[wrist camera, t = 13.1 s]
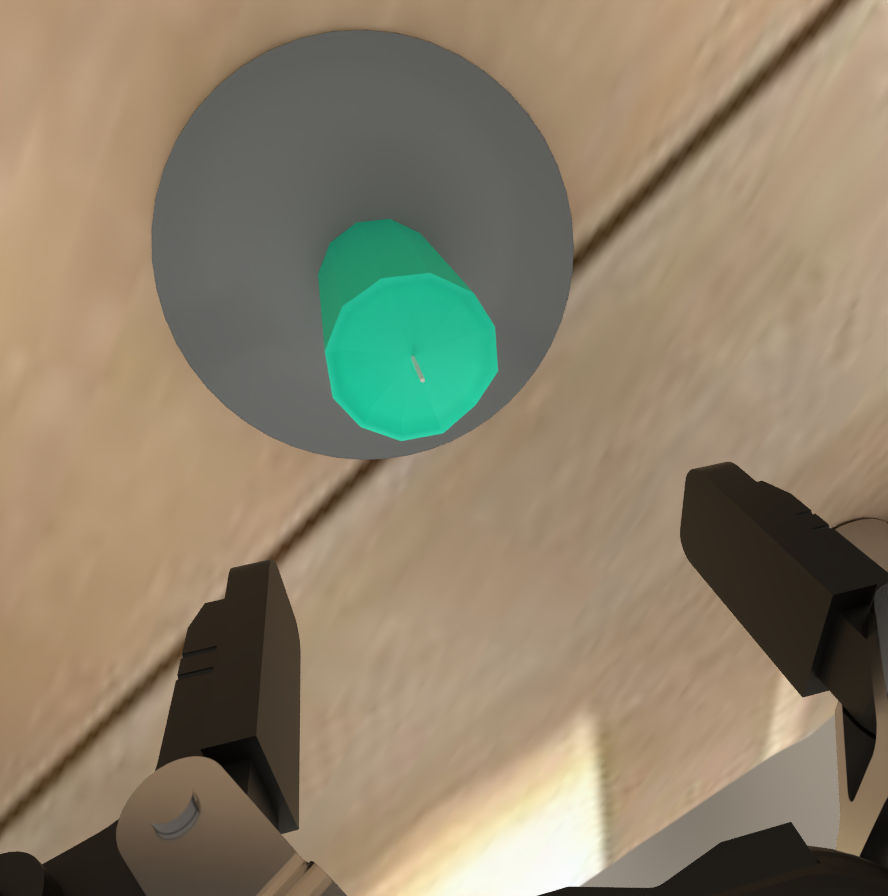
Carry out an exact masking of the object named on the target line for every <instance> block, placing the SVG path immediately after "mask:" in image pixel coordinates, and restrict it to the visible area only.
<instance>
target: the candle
mask: <svg viewBox="0 0 888 896" xmlns="http://www.w3.org/2000/svg"><path fill="white" fill-rule="evenodd" d="M318 281H319V293H320V304H321V315H322V327H323V338H324V349H325V356H326V362H327V368H328V374H329V379H330V385H331V391H332V397H333V399H334V400H335V401H336V402H337V403H338V404H339V405H340V406H341V407H342V408H343V409H344V410H345V411H346V412H347V413H348V414H349V415H350V416H351V417H352V418H353V420H354V421H355V422H356V423H357V424H358V425H359V426H360V427H362V428H365V429H367V430H370V431H373V432H376V433H379V434H382V435H385V436H388V437H391V438H393V439H396V440H399V441H405V440H410V439H416V438H421V437H427V436H432V435H438V434H443V433H444V432H445V431H447V430H448V429H449V428H450V427H451V426H452V425H453V424H455V423H456V422H457V421H458V420H459V419H460V418H461V417H463V416H464V415H465V414H466V413H467V412H468V411H469V410H471V409H472V408H473V407H474V406H475V405H476V404H477V402H478V401H479V399H480V398H481V396H482V395H483V393H484V392H485V390H486V389H487V387H488V386H489V384H490V383H491V381H492V380H493V378H494V377H495V375H496V374H497V372H498V362H497V348H496V333H495V326H494V324H493V322H492V321H491V319H490V318H489V316H488V315H487V313H486V311H485V310H484V308H483V307H482V305H481V304H480V302H479V301H478V299H477V297H476V296H475V294H474V293H473V292H472V290H471V289H470V288H469V287H468V286H467V285H466V284H465V283H464V282H463V280H462V279H461V278H460V277H459V276H458V275H457V274H456V273H455V271H454V270H453V269H452V268H451V267H450V266H449V265H448V264H447V263H446V261H445V260H444V259H443V258H442V257H441V256H440V255H439V254H438V253H437V251H436V250H435V249H434V248H433V247H432V246H431V245H430V244H429V242H428V241H427V240H426V239H425V238H424V237H423V236H422V235H421V234H420V233H419V232H417V231H415V230H413V229H410V228H408V227H406V226H404V225H402V224H400V223H398V222H396V221H394V220H392V219H383V220H374V221H364V222H356V223H355V224H354V225H352V226H351V227H350V228H349V229H347V230H346V231H345V232H343V233H342V234H341V235H339V236H338V237H337V238H336V239H334V240H333V241H332V242H330V244H329V246H328V249H327V252H326V254H325V257H324V260H323V262H322V265H321V267H320V270H319V273H318Z"/></svg>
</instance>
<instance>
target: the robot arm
mask: <svg viewBox="0 0 888 896" xmlns="http://www.w3.org/2000/svg"><path fill="white" fill-rule="evenodd" d="M680 538H681V543H682V547H683V550H684V552H685V555H686V557H687V558H688V560H689V561H690V563H691V564H692V565H693V567H694V568H695V569H696V570H697V571H698V573H699V574H700V575H701V576H702V577H703V579H704V580H705V581H706V582H707V583H708V585H709V586H710V587H711V588H712V589H713V591H714V592H715V593H716V594H717V595H718V597H719V598H720V599H721V600H722V601H723V603H724V604H725V605H726V606H727V607H728V609H729V610H730V611H731V612H732V613H733V615H734V616H735V617H736V618H737V619H738V621H739V622H740V623H741V624H742V625H743V627H744V628H745V629H746V630H747V631H748V633H749V634H750V635H751V636H752V637H753V639H754V640H755V641H756V642H757V643H758V645H759V646H760V647H761V648H762V649H763V651H764V652H765V653H766V654H767V655H768V657H769V658H770V659H771V660H772V661H773V663H774V664H775V665H776V666H777V667H778V669H779V670H780V671H781V672H782V673H783V675H784V676H785V677H786V678H787V679H788V681H789V682H790V683H791V684H792V685H793V687H794V688H795V689H796V690H797V691H798V693H799V694H800V695H801V696H802V697H806V696H810V695H814V694H818V693H821V692H825V691H829V690H830V692H831V693H832V694H833V695H834V696H835V697H836V698H837V699H838V703H837V706H836V709H835V727H836V745H837V764H838V780H839V781H838V782H839V801H840V824H839V833H838V838H837V844H836V850H833V849H827V848H821V847H814V846H807V845H806V843H805V842H804V841H803V839H802V838H801V836H800V834H799V833H798V832H797V830H796V829H795V827H794V826H793V824H792V823H791V822H789V823H786V824H782V825H779V826H776V827H772V828H769V829H765V830H762V831H758V832H755V833H751V834H748V835H745V836H741V837H738V838H734V839H731V840H728V841H724V842H721V843H719V844H718V845H716V846H715V847H714V848H712V849H711V850H709V851H708V852H707V853H705V854H704V855H702V856H701V857H700V858H698V859H697V860H695V861H694V862H693V863H691V864H690V865H688V866H687V867H686V868H684V869H683V870H681V871H680V872H679V873H677V874H676V875H674V876H673V877H672V878H670V879H669V880H668V881H666V882H665V883H663V884H661V885H660V886H657V887H654V888H613V887H611V888H610V887H566V888H562V889H559V890H555V891H552V892H549V893H545V894H542V895H538V896H888V523H886V522H884V521H882V520H877V519H862V520H858V521H853V522H850V523H848V524H845V525H843V526H840V527H838V528H836V529H834V528H832V529H830V528H829V524H827V523H826V522H825V521H824V520H823V519H821V518H820V517H819V516H818V515H816V514H812V512H811V510H810V509H809V508H808V507H806V506H805V505H804V504H803V503H802V502H800V501H799V500H798V499H797V498H795V497H794V496H793V495H792V494H790V493H788V492H786V491H784V490H782V489H779V488H777V487H775V486H773V485H770V484H768V483H766V482H764V481H759V482H756V481H755V480H754V479H752V478H751V477H750V476H749V475H748V474H746V473H745V472H744V471H743V470H742V469H741V468H739V467H738V466H737V465H736V464H734V463H732V462H724V463H719V464H714V465H710V466H705V467H701V468H696V469H692V470H690V471H689V472H688V474H687V477H686V481H685V491H684V500H683V509H682V518H681V528H680ZM182 655H183V658H182V659H181V661H180V666H179V670H178V680H176V683H175V688H174V692H173V697H172V701H171V706H170V710H169V715H168V719H167V724H166V728H165V733H164V737H163V741H162V746H161V750H160V755H159V759H158V763H157V767H156V770H155V772H154V773H152V774H151V775H150V776H148V777H147V778H146V779H145V780H144V781H143V782H142V783H141V784H140V785H139V786H138V787H137V788H136V790H135V791H134V792H133V793H132V795H131V796H130V798H129V799H128V800H127V802H126V804H125V806H124V808H123V810H122V812H121V815H120V817H119V819H118V820H117V821H115V822H114V823H113V824H111V825H110V826H109V827H107V828H105V829H104V830H102V831H101V832H99V833H97V834H96V835H94V836H92V837H90V838H89V839H87V840H85V841H83V842H81V843H80V844H78V845H76V846H74V847H73V848H71V849H69V850H67V851H65V852H64V853H62V854H60V855H58V856H56V857H55V858H53V859H51V860H49V861H48V862H46V863H44V864H41V863H40V862H39V861H38V860H37V859H36V858H35V857H34V856H32V855H30V854H28V853H24V852H8V853H3V854H0V896H347V895H346V894H345V893H344V892H343V891H342V890H341V889H340V887H339V886H338V885H337V884H336V883H335V882H334V881H333V880H332V879H331V877H330V876H329V875H328V874H327V873H326V872H325V871H324V870H323V869H322V868H321V867H319V866H318V865H317V864H316V863H314V862H312V861H310V863H308V862H306V861H305V860H304V859H303V858H302V857H301V856H300V855H299V854H298V853H297V852H296V851H295V849H294V848H293V847H292V846H291V845H290V844H289V843H288V841H287V840H286V839H285V838H284V837H283V836H282V835H281V834H283V833H287V832H291V831H295V830H298V829H299V749H300V640H299V633H298V628H297V623H296V620H295V616H294V614H293V611H292V608H291V605H290V602H289V599H288V596H287V593H286V590H285V587H284V584H283V581H282V578H281V576H280V573H279V570H278V567H277V565H276V563H275V561H274V560H273V559H271V560H266V561H262V562H257V563H252V564H248V565H243V566H239V567H234V568H231V569H230V572H229V576H228V582H227V588H226V594H225V599H222V600H218V601H213V602H209V603H205V604H204V605H203V607H202V608H201V610H200V611H199V613H198V614H197V616H196V617H195V619H194V620H193V621H192V623H191V624H190V626H189V627H188V630H187V634H186V639H185V643H184V648H183V652H182Z"/></svg>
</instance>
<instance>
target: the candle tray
mask: <svg viewBox="0 0 888 896" xmlns="http://www.w3.org/2000/svg"><path fill="white" fill-rule="evenodd" d="M383 219H392V220H394V221H396V222H398V223H400V224H402V225H404V226H406V227H408V228H410V229H413V230H415V231H417V232H419V233H420V234H421V235H422V236H423V237H424V238H425V239H426V240H427V241H428V242H429V244H430V245H431V246H432V247H433V248H434V249H435V250H436V251H437V253H438V254H439V255H440V256H441V257H442V258H443V259H444V260H445V261H446V263H447V264H448V265H449V266H450V267H451V268H452V269H453V270H454V271H455V273H456V274H457V275H458V276H459V277H460V278H461V279H462V280H463V282H464V283H465V284H466V285H467V286H468V287H469V288H470V289H471V290H472V292H473V293H474V294H475V296H476V297H477V299H478V301H479V302H480V304H481V305H482V307H483V308H484V310H485V311H486V313H487V315H488V316H489V318H490V319H491V321H492V322H493V324H494V326H495V333H496V348H497V362H498V372H497V374H496V375H495V377H494V378H493V380H492V381H491V383H490V384H489V386H488V387H487V389H486V390H485V392H484V393H483V395H482V396H481V398H480V399H479V401H478V402H477V404H476V405H475V406H474V407H473V408H472V409H471V410H469V411H468V412H467V413H466V414H465V415H464V416H463V417H461V418H460V419H459V420H458V421H457V422H456V423H455V424H453V425H452V426H451V427H450V428H449V429H448V430H447V431H445V432H444V433H443V434H438V435H432V436H427V437H421V438H416V439H410V440H405V441H399V440H396V439H393V438H391V437H388V436H385V435H382V434H379V433H376V432H373V431H370V430H367V429H365V428H362V427H360V426H359V425H358V424H357V423H356V422H355V421H354V420H353V418H352V417H351V416H350V415H349V414H348V413H347V412H346V411H345V410H344V409H343V408H342V407H341V406H340V405H339V404H338V403H337V402H336V401H335V400H334V399H333V397H332V391H331V385H330V379H329V374H328V368H327V362H326V356H325V349H324V338H323V327H322V315H321V304H320V293H319V281H318V273H319V270H320V267H321V265H322V262H323V260H324V257H325V254H326V252H327V249H328V246H329V244H330V242H332V241H333V240H334V239H336V238H337V237H338V236H339V235H341V234H342V233H343V232H345V231H346V230H347V229H349V228H350V227H351V226H352V225H354V224H355V223H356V222H364V221H374V220H383ZM573 251H574V244H573V229H572V218H571V213H570V208H569V203H568V197H567V192H566V189H565V186H564V183H563V180H562V177H561V174H560V171H559V168H558V165H557V163H556V161H555V159H554V157H553V155H552V153H551V151H550V149H549V147H548V145H547V143H546V141H545V139H544V137H543V136H542V134H541V133H540V131H539V130H538V128H537V127H536V125H535V124H534V122H533V121H532V119H531V118H530V116H529V115H528V113H527V112H526V111H525V110H524V109H523V108H522V107H521V105H520V104H519V103H518V102H517V101H516V100H515V99H514V97H513V96H512V95H511V94H510V93H509V92H508V91H507V90H506V89H505V88H503V87H502V86H501V85H500V84H499V83H498V82H496V81H495V80H494V79H493V78H492V77H491V76H489V75H488V74H487V73H486V72H485V71H483V70H482V69H480V68H478V67H477V66H475V65H474V64H472V63H471V62H469V61H467V60H466V59H464V58H463V57H461V56H460V55H458V54H455V53H453V52H451V51H449V50H446V49H444V48H442V47H440V46H437V45H435V44H433V43H431V42H428V41H424V40H420V39H417V38H413V37H409V36H406V35H402V34H398V33H389V32H380V31H371V30H353V31H333V32H328V33H323V34H318V35H314V36H309V37H304V38H300V39H297V40H295V41H292V42H290V43H287V44H284V45H282V46H279V47H277V48H274V49H271V50H269V51H267V52H266V53H264V54H262V55H261V56H259V57H257V58H255V59H254V60H252V61H250V62H249V63H247V64H245V65H243V66H242V67H240V68H239V69H238V70H237V71H236V72H234V73H233V74H232V75H231V76H229V77H228V78H227V79H226V80H225V81H223V82H222V83H221V84H220V85H218V86H217V87H216V88H215V89H214V90H213V92H212V93H211V94H210V95H209V96H208V97H207V98H206V99H205V101H204V102H203V103H202V104H201V105H200V106H199V107H198V108H197V110H196V111H195V112H194V113H193V115H192V116H191V118H190V120H189V121H188V123H187V124H186V126H185V127H184V129H183V130H182V132H181V134H180V135H179V137H178V138H177V140H176V142H175V145H174V147H173V149H172V151H171V154H170V156H169V158H168V160H167V162H166V165H165V167H164V170H163V173H162V177H161V181H160V184H159V188H158V191H157V195H156V199H155V207H154V214H153V222H152V263H153V269H154V276H155V282H156V289H157V292H158V296H159V299H160V303H161V306H162V309H163V313H164V316H165V319H166V321H167V323H168V326H169V328H170V330H171V332H172V335H173V337H174V339H175V341H176V344H177V345H178V347H179V348H180V350H181V352H182V353H183V355H184V357H185V358H186V360H187V362H188V363H189V365H190V367H191V368H192V369H193V371H194V372H195V373H196V374H197V376H198V377H199V378H200V379H201V381H202V382H203V383H204V384H205V386H206V387H207V388H208V389H209V390H210V391H211V392H212V393H213V394H214V395H215V396H216V397H217V398H218V399H219V400H220V401H221V402H222V403H223V404H224V405H225V406H226V407H227V408H228V409H230V410H231V411H232V412H234V413H235V414H236V415H238V416H239V417H240V418H241V419H243V420H244V421H245V422H247V423H248V424H250V425H252V426H253V427H255V428H257V429H258V430H260V431H262V432H263V433H265V434H267V435H268V436H270V437H273V438H275V439H277V440H279V441H281V442H284V443H286V444H288V445H290V446H293V447H296V448H299V449H303V450H306V451H309V452H312V453H316V454H321V455H326V456H331V457H336V458H347V459H360V460H365V459H387V458H394V457H400V456H407V455H411V454H415V453H419V452H422V451H426V450H430V449H433V448H435V447H438V446H440V445H443V444H445V443H448V442H450V441H453V440H455V439H456V438H458V437H460V436H462V435H464V434H466V433H468V432H470V431H472V430H473V429H475V428H476V427H478V426H479V425H481V424H482V423H483V422H485V421H486V420H488V419H489V418H491V417H492V416H493V415H494V414H496V413H497V412H498V411H499V410H500V409H501V408H503V407H504V406H505V405H506V404H507V403H508V402H509V401H510V400H511V399H512V398H513V397H514V396H515V395H516V394H517V393H518V392H519V391H520V390H521V388H522V387H523V386H524V385H525V384H526V383H527V381H528V380H529V379H530V377H531V376H532V374H533V373H534V372H535V370H536V369H537V368H538V366H539V365H540V363H541V361H542V360H543V358H544V356H545V354H546V353H547V351H548V349H549V347H550V346H551V344H552V341H553V339H554V337H555V334H556V332H557V330H558V327H559V325H560V323H561V320H562V316H563V313H564V310H565V306H566V303H567V300H568V295H569V289H570V283H571V278H572V269H573Z"/></svg>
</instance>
